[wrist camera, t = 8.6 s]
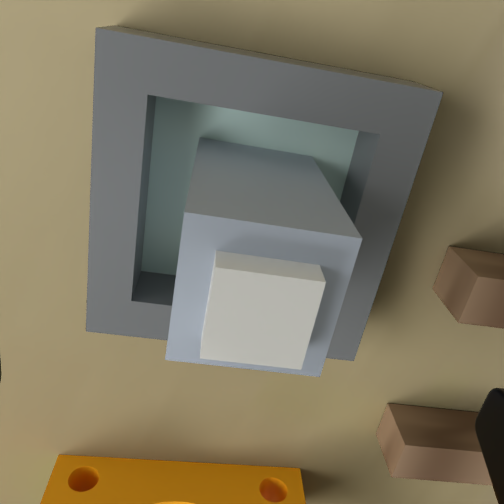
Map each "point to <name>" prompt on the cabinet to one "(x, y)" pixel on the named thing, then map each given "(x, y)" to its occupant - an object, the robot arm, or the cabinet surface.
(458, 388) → the cabinet surface
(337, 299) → the plug
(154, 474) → the pipe clamp
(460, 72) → the cabinet surface
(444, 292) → the brown blocks
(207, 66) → the port
